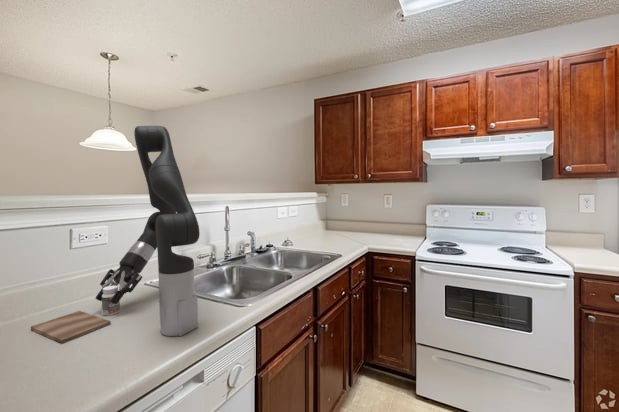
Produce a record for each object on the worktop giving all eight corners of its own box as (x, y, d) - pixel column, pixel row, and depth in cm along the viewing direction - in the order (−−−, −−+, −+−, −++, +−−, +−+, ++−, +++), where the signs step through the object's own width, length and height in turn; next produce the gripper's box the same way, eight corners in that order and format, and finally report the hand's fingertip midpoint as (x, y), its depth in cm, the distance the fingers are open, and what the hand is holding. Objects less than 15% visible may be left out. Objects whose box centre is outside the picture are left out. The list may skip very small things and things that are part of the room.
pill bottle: (111, 316, 91) (109, 290, 90) (98, 315, 92) (97, 289, 91) (123, 310, 96) (122, 285, 95) (111, 309, 96) (110, 284, 96)
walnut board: (110, 324, 85) (110, 321, 85) (61, 343, 75) (61, 340, 75) (79, 313, 93) (79, 310, 93) (30, 330, 82) (30, 326, 82)
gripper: (116, 249, 102) (81, 293, 92) (145, 252, 97) (112, 299, 87) (130, 260, 107) (99, 303, 97) (159, 264, 102) (129, 309, 92)
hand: (105, 301), depth 92 cm, fingers open, 6 cm apart
